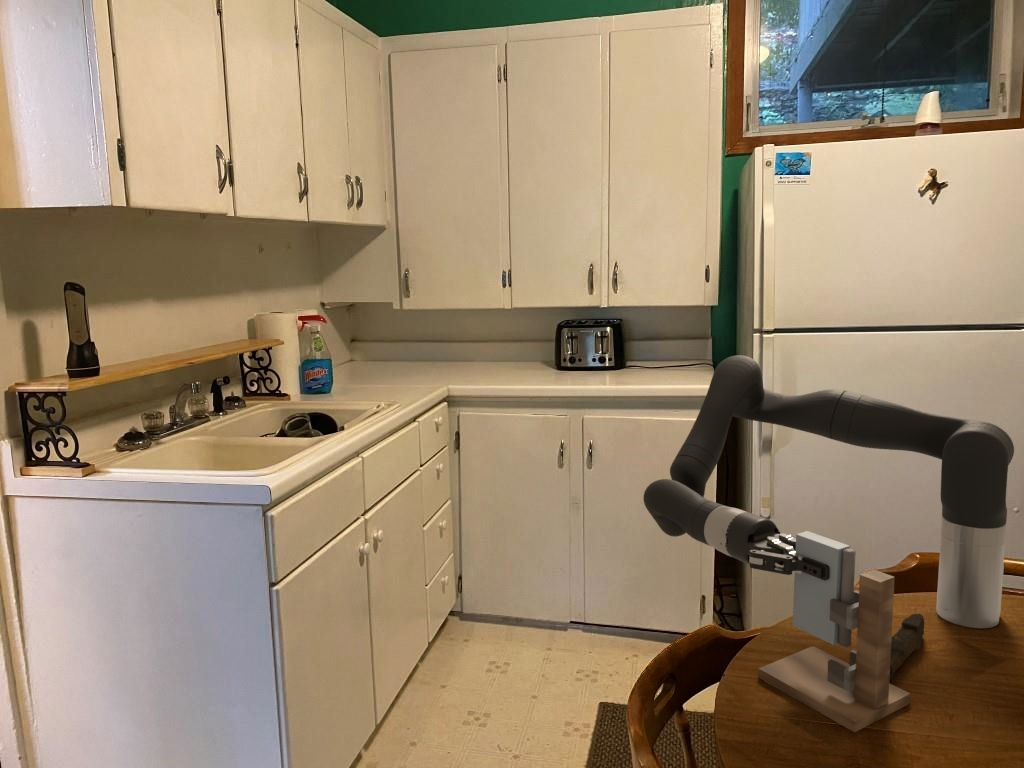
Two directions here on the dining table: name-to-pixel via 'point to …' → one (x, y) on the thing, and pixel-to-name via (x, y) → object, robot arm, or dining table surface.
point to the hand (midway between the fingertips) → (834, 571)
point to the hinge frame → (839, 685)
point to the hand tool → (906, 640)
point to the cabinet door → (823, 588)
